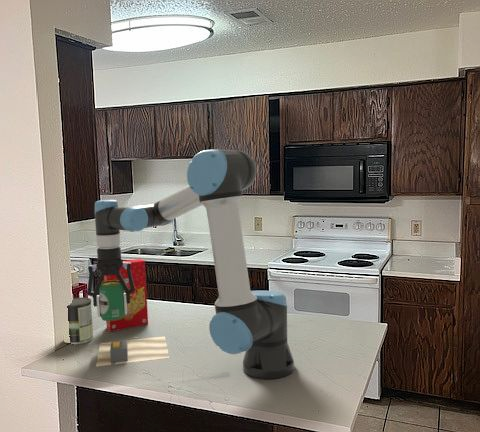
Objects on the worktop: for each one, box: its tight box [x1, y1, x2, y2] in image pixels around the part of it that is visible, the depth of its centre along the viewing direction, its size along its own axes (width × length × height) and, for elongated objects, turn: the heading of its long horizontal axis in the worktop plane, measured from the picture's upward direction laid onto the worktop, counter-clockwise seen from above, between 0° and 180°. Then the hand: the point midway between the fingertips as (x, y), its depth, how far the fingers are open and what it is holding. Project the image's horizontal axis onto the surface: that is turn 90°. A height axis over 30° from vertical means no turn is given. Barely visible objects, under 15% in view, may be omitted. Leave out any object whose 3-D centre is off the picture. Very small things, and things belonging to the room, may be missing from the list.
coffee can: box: [67, 297, 94, 345], centre depth 172 cm, size 10×10×14 cm
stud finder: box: [110, 340, 128, 363], centre depth 151 cm, size 7×5×5 cm
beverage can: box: [98, 280, 125, 322], centre depth 160 cm, size 8×8×12 cm
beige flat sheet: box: [95, 336, 170, 368], centre depth 157 cm, size 20×22×1 cm
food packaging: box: [103, 258, 149, 332], centre depth 185 cm, size 15×5×25 cm, turn 120°
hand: (112, 314), depth 161 cm, fingers closed on beverage can, 8 cm apart
